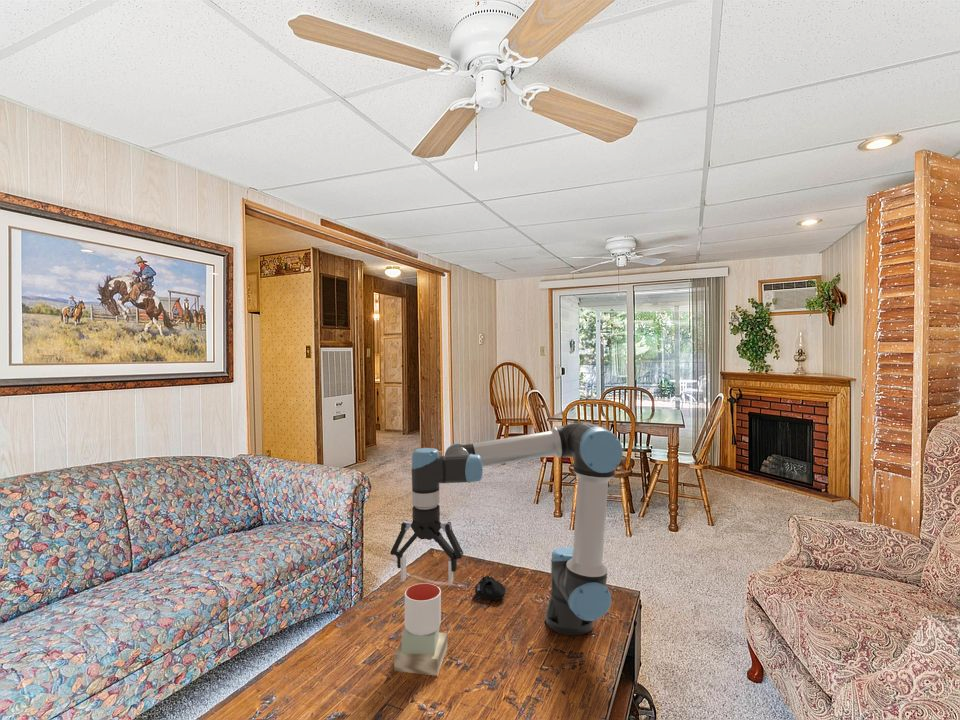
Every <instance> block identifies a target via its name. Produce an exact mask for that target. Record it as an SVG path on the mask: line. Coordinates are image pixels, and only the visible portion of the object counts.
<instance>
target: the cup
mask: <svg viewBox="0 0 960 720" xmlns="http://www.w3.org/2000/svg"><path fill="white" fill-rule="evenodd" d="M404 591H405V592H404V627H405V628H406V629H407V631H408V632H410V633H411V634H414V635H419V636H423V635H429V634H431V633H433V632H435V631H436V630H437V629H438V628H439V629H440V627H441V624H442V623H441V621H442V620H441V619H442V617H441V616H442V591H441V587H439V586H437V585H435V584H433V583H426V582H425V583H423V582H422V583H416V584H413V585H411V586H409V587H407V588H406V590H404Z"/></svg>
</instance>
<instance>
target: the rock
mask: <svg viewBox="0 0 960 720" xmlns="http://www.w3.org/2000/svg"><path fill="white" fill-rule="evenodd" d="M474 589H475V590H474V593H475V596H477V597H478V598H483V599H486V600H490V601H492V600H502V599H503V598H504V597H505V594H506V587H505V586H504V584H502V583H501V582H500V581H498V580H496V579H495V578H494V577H493V576H490V575H487V576H485V575H484V576H482V578H480V580H479V581H478V582H477V583H476V584H475V587H474Z"/></svg>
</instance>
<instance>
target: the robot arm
mask: <svg viewBox="0 0 960 720" xmlns="http://www.w3.org/2000/svg"><path fill="white" fill-rule="evenodd" d="M552 456H555V457H557V458H567V457H568V458H569V457H570V458H573V468H572V469H573V473H574V474H575V475H576V477H577V488H576V502H575V515H574V516H575V517H574V528H573V530H574V531H573V543H572V547H571V546H567V547H566V546H565V547H558V548H555V549H554V550H553V551H552V552H551V557H550V558H551V559H550V562H551V563H550V568H551V569H550V571H551V573H550V574H551V575H550V576H551V577H550V580H551V581H550V584H551V585H550V586H551V587H550V592H551V593H550V598H549V601H548V604H547V607H546V610H545V619H544V620H545V624H546V625H547V626H548V627H549V628H550V629H551V630H552V631H554V632H557V633H559V634H560V635H561V634H562V635H565V636H566V635H567V636H581V635H585V633H586V634H588V633H590V632H591V631H592V630H593V629H594V624H595V621H596V620H599V619H601V618H602V617H603V616H604V615H606V614H607V613H608V611H609V610H610V608H611V605H612V595H611V591H610V590H609V587H607V581H608V580H607V579H608V578H607V577H608V568H607V566H606V565H605V564H604V563H603V559H604V545H605V544H604V543H605V531H606V518H607V517H606V516H607V505H608V491H609V481H611V480H612V479H613V478H614V477H615V473H616V469H617V467H618V466H619V465H620V463H621V461H622V458H623V447H622V443H621V441H620V439H619V438H618V437H617V435H615V434H614V433H613V432H612V431H611V430H609V429H607V428H605V427H601V426H599V425H596V424H594V423H592V422H587V421H582V422H574V423H568V424H564V425H559V426H553V427H551V429H550V430H549V431H548V430H547V431H542V432H535V433H529V434H523V435H518V436H512V437H505V438H500V439H498V438H497V439H492V440H487V441H486V440H485V441H480V442H474V443H467V444H462V443H454V444H451V445H449V446H448V447H447V449H446V450H445V453H444V455H440V452H439V450H438V449H437V448H433V447H422V448H417V449H415V450H413V452H412V454H411V490H412V491H411V496H412V497H411V504H412V521H408V520H407V519H404V520H403V521H402V523H401V525H400V531H399V534H398V536H397V537H396V540H394V541H395V542H394V543H393V546H392V548H391V550H390V553H389V554H390V555H391V556H395V557H396V561H397V563H396V564H397V566H396V567H397V569H400V582H405V580H406V578H407V554H405V552H406V551H407V550H408V548H409V547H410V546H411V545H413V542H415V541H416V539H417V538H418V539H420V540H428V541H432V540H434V541H435V543H437V544H438V545H439V546H440V548H441V549H442V550H443V551H444V553H445V554H446V555H447V556H448V558H449V559H448V562H447V565H448V567H447V568H448V571H447V572H448V585H450V586H451V585H453V583H454V572H456V571H457V567H458V564H457V563H458V560H459V559H462V557H463V555H464V552H463V548H462V547H461V545H460V543H459V541H458V539H457V537H456V536H455V533H454V531H453V527H452V522H451V521H447V522H446V523H441V517H440V516H441V515H440V514H441V513H440V511H441V509H440V484H451V483H452V484H455V483H456V484H457V483H458V484H459V483H469V484H470V483H475V482H480V481H481V480H482V478H483V467H489V466H491V467H492V466H496V465H503V464H509V463H514V462H520V461H527V460H528V461H529V460H533V459H538V458H539V459H540V458H546V457H552ZM410 528H411V530H412V531H413V534H412V535H411V536H410V538H409V539H408V540H407V542H406V543H405V544H404V545H403V546H402V547H401V548H400V549H399V547H400V545H401V543H402V541H403V539H404V536H405V534H406V532H407V531H408V530H409V529H410ZM441 529H442V531H443V532H444V533H445V535H446V537H447V540H448V541H447V540H446V539H445V537H443V534H442V533H441V532H440V530H441ZM449 543H450V544H449Z"/></svg>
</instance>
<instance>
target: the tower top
mask: <svg viewBox="0 0 960 720" xmlns="http://www.w3.org/2000/svg"><path fill="white" fill-rule="evenodd" d="M439 632H440V627H439V628H438V629H437V630H436V631H435V632H433V633H431V634H429V635H423V636H419V635H414V634H411V633H410V632H408V631H407V629H406V628H405V626H404V627H403V630H402V633H401V641H402V653H403V654H429V655H435V651H436V646H437V642H438V638H439Z"/></svg>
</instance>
